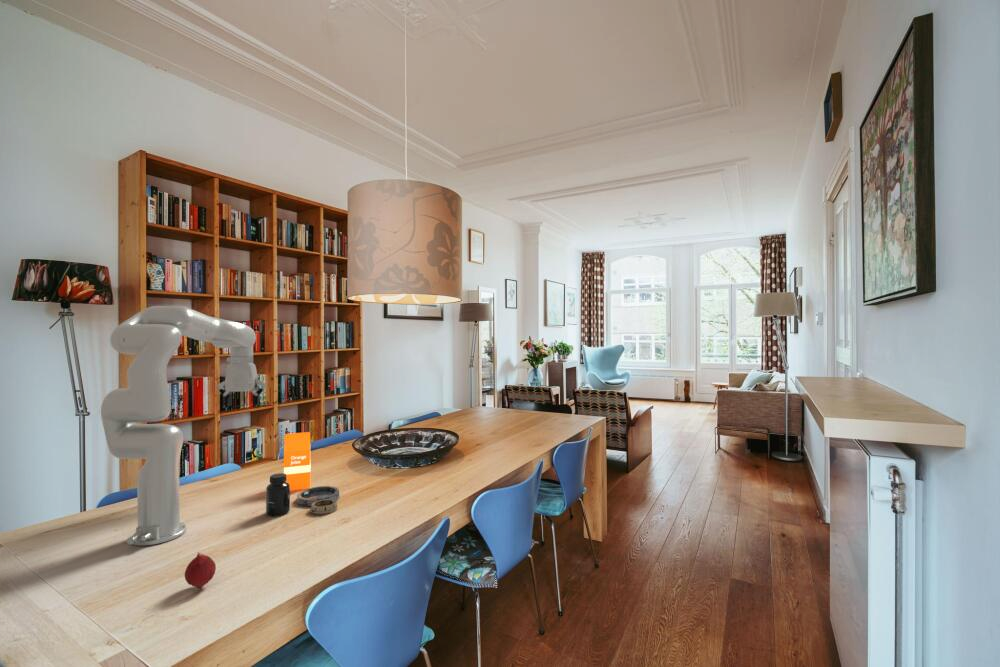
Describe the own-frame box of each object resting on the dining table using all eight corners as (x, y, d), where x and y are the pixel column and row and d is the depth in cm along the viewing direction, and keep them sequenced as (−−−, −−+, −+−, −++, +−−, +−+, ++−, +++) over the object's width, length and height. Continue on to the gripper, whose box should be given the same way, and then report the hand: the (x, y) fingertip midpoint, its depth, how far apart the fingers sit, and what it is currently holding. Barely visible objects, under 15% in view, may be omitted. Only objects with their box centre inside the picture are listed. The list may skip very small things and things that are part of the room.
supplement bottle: (263, 518, 139) (263, 479, 139) (268, 509, 146) (268, 473, 146) (287, 515, 141) (287, 477, 141) (291, 507, 148) (291, 471, 148)
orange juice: (310, 488, 166) (309, 434, 166) (283, 491, 163) (283, 436, 163) (310, 481, 174) (310, 429, 174) (285, 484, 170) (285, 431, 170)
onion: (221, 580, 105) (220, 545, 105) (205, 594, 99) (205, 558, 99) (195, 580, 105) (195, 546, 105) (178, 595, 99) (178, 558, 99)
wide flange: (332, 506, 149) (332, 499, 149) (290, 507, 148) (290, 500, 148) (343, 491, 163) (343, 485, 163) (305, 492, 162) (305, 486, 162)
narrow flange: (333, 514, 142) (333, 507, 142) (307, 515, 141) (306, 508, 141) (340, 504, 150) (340, 498, 150) (315, 505, 149) (315, 499, 149)
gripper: (212, 361, 165) (212, 408, 165) (261, 361, 166) (261, 407, 166) (222, 360, 172) (223, 405, 172) (270, 360, 174) (270, 404, 174)
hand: (242, 406), depth 169 cm, fingers open, 9 cm apart
